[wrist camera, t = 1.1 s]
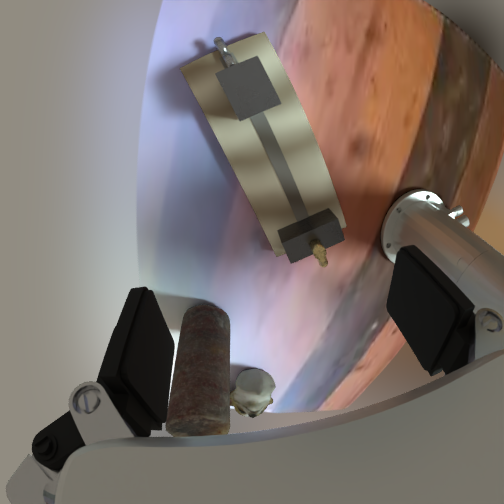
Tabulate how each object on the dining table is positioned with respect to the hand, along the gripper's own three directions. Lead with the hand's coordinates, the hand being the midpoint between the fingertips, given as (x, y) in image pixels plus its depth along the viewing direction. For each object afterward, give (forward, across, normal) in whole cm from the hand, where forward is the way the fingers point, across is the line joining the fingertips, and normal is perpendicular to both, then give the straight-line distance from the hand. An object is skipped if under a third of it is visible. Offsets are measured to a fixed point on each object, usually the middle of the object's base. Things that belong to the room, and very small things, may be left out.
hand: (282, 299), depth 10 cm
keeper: (+23, -7, +9) cm, 26 cm away
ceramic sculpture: (+24, +4, +42) cm, 49 cm away
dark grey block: (+23, -1, -11) cm, 25 cm away
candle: (+25, +8, +22) cm, 34 cm away
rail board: (+24, -4, -2) cm, 25 cm away
